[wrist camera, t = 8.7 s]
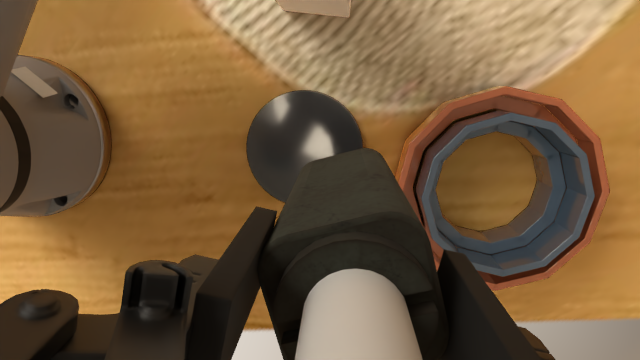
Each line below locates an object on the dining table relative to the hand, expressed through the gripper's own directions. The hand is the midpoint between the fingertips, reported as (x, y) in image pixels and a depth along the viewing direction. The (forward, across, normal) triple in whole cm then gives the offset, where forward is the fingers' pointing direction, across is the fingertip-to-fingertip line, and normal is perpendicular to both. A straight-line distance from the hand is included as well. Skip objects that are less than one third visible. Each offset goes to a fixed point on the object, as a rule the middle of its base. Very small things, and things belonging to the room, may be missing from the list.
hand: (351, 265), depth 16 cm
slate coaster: (+26, -4, 0) cm, 27 cm away
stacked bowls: (+26, +13, 0) cm, 29 cm away
